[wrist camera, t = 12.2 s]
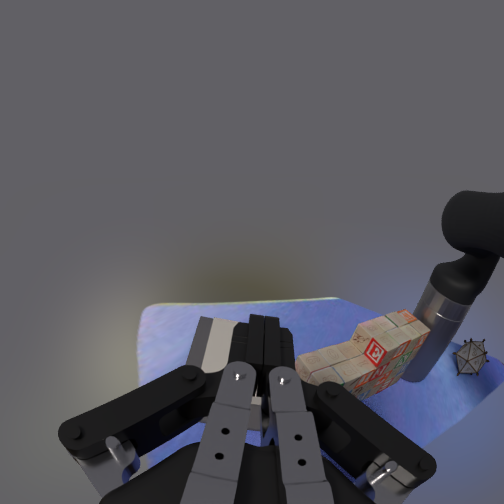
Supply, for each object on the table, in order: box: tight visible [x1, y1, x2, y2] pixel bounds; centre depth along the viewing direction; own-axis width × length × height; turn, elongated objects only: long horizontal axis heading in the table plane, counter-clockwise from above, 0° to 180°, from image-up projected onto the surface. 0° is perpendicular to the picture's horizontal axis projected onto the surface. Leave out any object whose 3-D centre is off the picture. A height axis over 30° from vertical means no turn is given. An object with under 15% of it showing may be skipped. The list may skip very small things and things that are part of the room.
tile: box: [201, 317, 261, 405], centre depth 40 cm, size 2×9×15 cm
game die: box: [453, 338, 489, 376], centre depth 41 cm, size 9×8×10 cm
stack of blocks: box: [295, 309, 431, 401], centre depth 36 cm, size 21×6×12 cm, turn 114°
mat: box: [186, 316, 261, 431], centre depth 40 cm, size 21×14×1 cm, turn 177°
